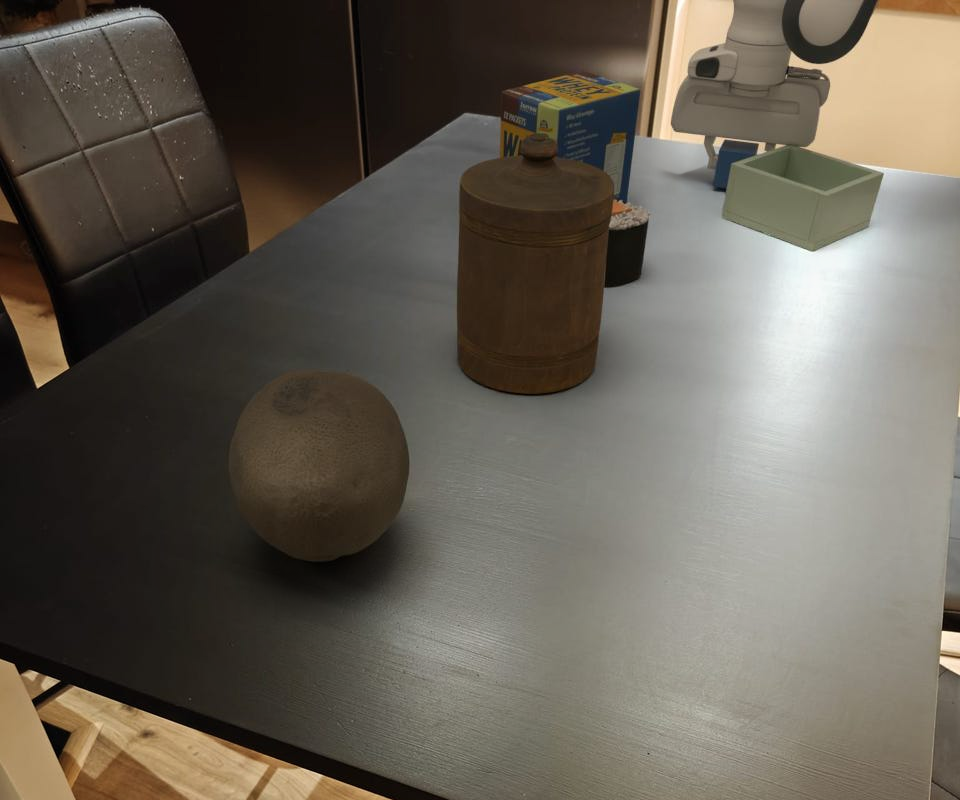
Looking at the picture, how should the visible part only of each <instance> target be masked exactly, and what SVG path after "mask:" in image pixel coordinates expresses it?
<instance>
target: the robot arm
mask: <svg viewBox="0 0 960 800" xmlns="http://www.w3.org/2000/svg"><path fill="white" fill-rule="evenodd" d="M732 1H733V14H732V18H731V22H730V24H729V26H728V29H727V31H726V32H727V33H726V37H725V42H723V43H719V44H715V45H710V46H707V47H703V48H700V49H698V50H697V51H696V52H694V53H693V54H692V55H691V57H690V58H689V61H688V64H687V75H686V77H685V78H684V79H683V81H682V82H681V84H680V85H679V88H678V90H677V93H676V96H675V99H674V104H673V108H672V113H671V118H670V126H671V129H672V130H673V132H675V133H679V134H680V133H681V134H689V135H696V136H697V135H699V136H704V139H703V145H704V149H705V151H706V154H707V157H708V162H707V170H710V171H715V170H716V165H717V159H718V154H719V153H716V150H715V146H714V144H715V141H716V140H717V138H724V139H729V140H737V141H746V142H754V143H764V144H765V145H764V149H763V150H764V151H765V152H767V151H770V150H773V149H776V148H777V145H781V146H785V145H794V146H798V147H801V148H808V147H809V146H811V144H813V143H814V142H815V140H816V136H817V132H818V131H817V130H818V126H819V120H820V113H821V108H822V107H823V106H824V105H825V104H826V102H827V100H828V98H829V93H830V89H831V80H830V78H829V77H828V75H827V74H825V73H824V72H823V70H821V69H818V68H812V69H810V68H804V67H800V66H791V65H789V64H790V61H791V56H792V54H793V55H794V56H796V58H798V59H800V60H801V61H804V62H805V63H808V64H813V65H825V64H830V63H833V62H836V61H838V60H840V59H841V58H843V57H845V56H847V54H849V53H850V52H851V51H852V50H854V48H855V47H856V46H857V44H858V43H859V41H860V40H861V38H862V37H863V35H864V33H865V31H866V29H867V27H868V25H869V22H870V20H871V18H872V16H873V15H874V12H875V10H876V9H877V7H878V5H879V2H880V0H732Z"/></svg>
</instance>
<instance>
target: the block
mask: <svg viewBox="0 0 960 800" xmlns="http://www.w3.org/2000/svg"><path fill="white" fill-rule="evenodd" d="M759 146H760V143H759V142H751V141H743V140H735V139H723V142H722V144H721V146H720V147H719V149H718V153H717V154H718V159H717V165H716V170H714V175H713V182H712V187H714V188H721V189H727V185H728V179H729V174H730V169H731V164H732V163H735V162H738V161H741V160H744V159H747V158H750V157H752V156H755V155H758V151H759Z"/></svg>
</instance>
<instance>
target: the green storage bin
mask: <svg viewBox="0 0 960 800" xmlns="http://www.w3.org/2000/svg"><path fill="white" fill-rule="evenodd" d="M884 175H885V172H882V171H879V170H876V169H873V168H868V167H866V166H863V165H859V164H856V163H853V162H849V161H846V160H843V159H840V158H837V157H833V156H830V155H827V154H824V153H820V152H817V151H814V150H810V149H807V148H805V147H798V146H794V145H781V146H779V147H776V148H775V149H773V150H770V151H767V152H766V151H765V152H762V153H759V154H758V153H757V155H755V156H752V157H750V158H747V159H744V160H741V161H738V162H735V163H732V164H731V169H730V174H729V179H728V185H727V188H726V189H725V196H724V199H723V200H724V202H723V206H722V211H721V216H722V217H724V218H726V219H725V220H727V219H728V220H727V221H730V220H731V221H730V222H732V221H734V222H733V223H735V222H736V223H735V224H738V223H739V224H738V225H740V224H741V226H743V225H745V226H744V227H746V226H747V227H746V228H748V227H751V228H754V229H756V230H759V231H762V232H765V233H767V234H770V235H772V236H771V237H773V236H775V237H777V238H776V239H778V238H780V239H779V240H781V239H782V240H781V241H783V240H785V241H784V242H786V241H788V242H787V243H789V242H790V243H789V244H791V243H792V244H791V245H794V246H797V247H800V248H802V249H804V250H807V251H810V252H814V251H817V250H819V249H821V248H824V247H826V246H829V245H831V244H832V243H835V242H838V241H840V240H842V239H844V238H846V237H849V236H851V235H854V234H856V233H858V232H861V231H862V230H865V229H868V228H869V224H870V222H871V218H872V216H873V215H872V214H873V211H874V208H875V206H876V202H877V199H878V195H879V192H880V188H881V185H882V182H883V178H884ZM722 217H721V218H722ZM724 218H723V219H724ZM751 228H750V229H751ZM754 229H753V230H754ZM756 230H755V231H756ZM759 231H758V232H759ZM762 232H761V233H762ZM765 233H764V234H765ZM767 234H766V235H767ZM770 235H769V236H770ZM775 237H774V238H775Z"/></svg>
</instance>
